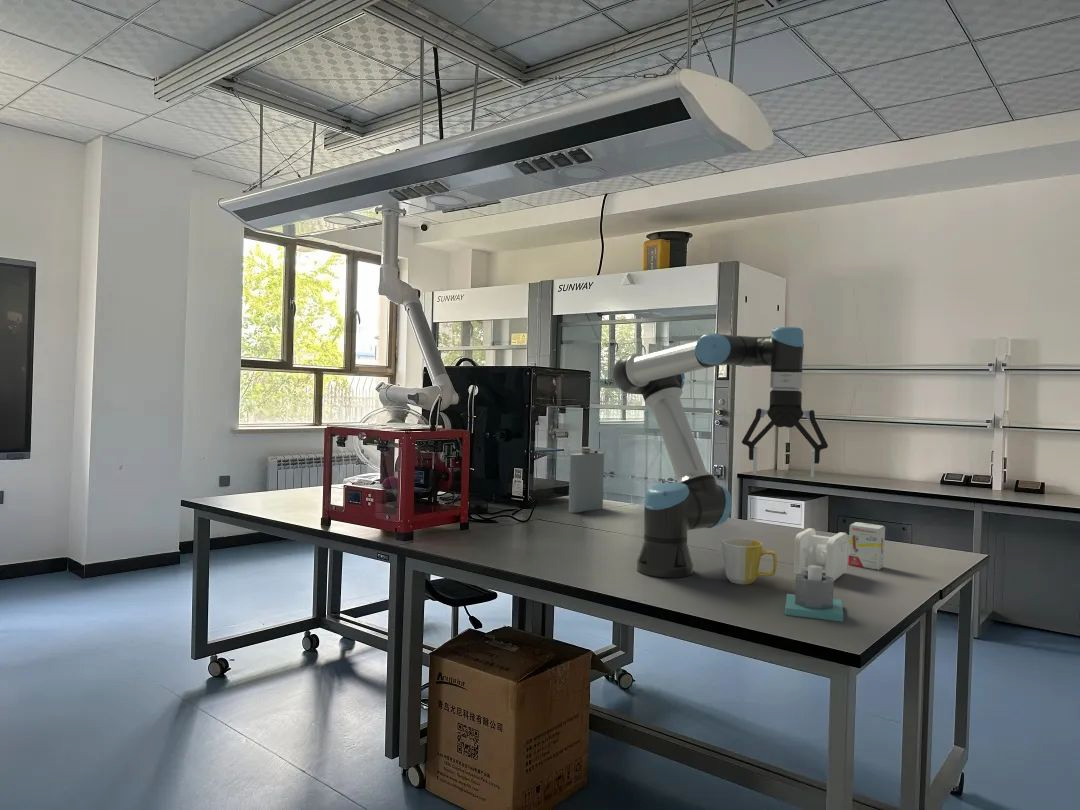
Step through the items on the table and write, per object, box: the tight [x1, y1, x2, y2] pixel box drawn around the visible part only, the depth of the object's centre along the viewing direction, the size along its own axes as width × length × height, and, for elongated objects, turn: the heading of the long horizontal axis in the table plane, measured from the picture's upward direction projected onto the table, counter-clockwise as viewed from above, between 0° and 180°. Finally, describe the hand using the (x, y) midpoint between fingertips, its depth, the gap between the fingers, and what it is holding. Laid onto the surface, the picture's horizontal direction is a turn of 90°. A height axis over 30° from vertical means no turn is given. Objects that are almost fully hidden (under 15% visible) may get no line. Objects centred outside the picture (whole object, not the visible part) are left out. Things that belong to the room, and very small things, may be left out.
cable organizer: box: [793, 527, 849, 582], centre depth 200 cm, size 15×11×12 cm
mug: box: [721, 537, 778, 585], centre depth 191 cm, size 14×10×10 cm
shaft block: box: [784, 565, 844, 623], centre depth 169 cm, size 12×12×10 cm
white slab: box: [568, 446, 605, 514], centre depth 295 cm, size 17×5×25 cm, turn 132°
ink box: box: [847, 521, 886, 570], centre depth 212 cm, size 9×5×12 cm, turn 49°
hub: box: [794, 572, 835, 610], centre depth 169 cm, size 8×8×6 cm
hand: (783, 475), depth 185 cm, fingers open, 13 cm apart
